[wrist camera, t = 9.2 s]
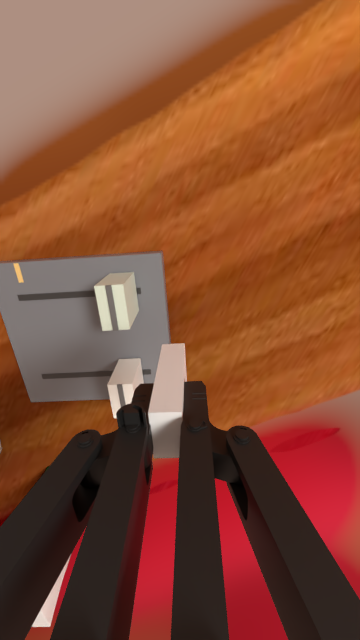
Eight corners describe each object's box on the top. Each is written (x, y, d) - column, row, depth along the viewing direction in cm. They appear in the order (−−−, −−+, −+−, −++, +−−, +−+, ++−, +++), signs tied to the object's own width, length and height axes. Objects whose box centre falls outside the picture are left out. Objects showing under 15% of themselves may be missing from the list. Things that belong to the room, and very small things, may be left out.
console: (37, 393, 43) (30, 402, 41) (-5, 261, 35) (-17, 264, 33) (174, 388, 42) (174, 396, 40) (162, 250, 34) (161, 253, 32)
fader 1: (115, 311, 35) (102, 331, 29) (109, 273, 33) (93, 286, 27) (139, 310, 35) (129, 329, 29) (133, 271, 33) (122, 284, 27)
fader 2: (124, 389, 39) (113, 419, 34) (119, 359, 37) (106, 385, 32) (144, 388, 39) (137, 418, 33) (140, 358, 37) (132, 384, 32)
